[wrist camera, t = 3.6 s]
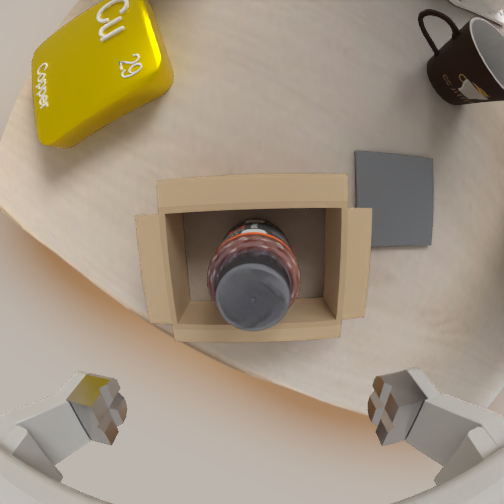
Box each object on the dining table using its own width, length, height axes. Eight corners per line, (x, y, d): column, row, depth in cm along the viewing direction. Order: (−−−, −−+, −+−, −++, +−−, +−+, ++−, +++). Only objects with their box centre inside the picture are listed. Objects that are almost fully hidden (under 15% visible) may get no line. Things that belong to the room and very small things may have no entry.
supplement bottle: (239, 207, 24) (224, 222, 13) (298, 235, 25) (330, 271, 14) (212, 265, 26) (182, 321, 15) (270, 291, 26) (278, 360, 15)
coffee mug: (480, 97, 20) (533, 82, 10) (452, 126, 22) (513, 113, 12) (424, 22, 18) (465, -12, 9) (387, 42, 20) (431, -1, 10)
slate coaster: (430, 159, 23) (432, 159, 22) (429, 244, 25) (431, 245, 24) (354, 150, 23) (356, 150, 23) (355, 246, 25) (356, 247, 25)
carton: (350, 177, 23) (371, 175, 19) (345, 310, 26) (361, 334, 22) (155, 183, 24) (133, 183, 19) (169, 315, 27) (153, 339, 22)
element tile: (49, 61, 21) (28, 50, 16) (149, -1, 19) (136, -22, 14) (63, 155, 24) (35, 153, 19) (180, 89, 22) (165, 71, 18)
